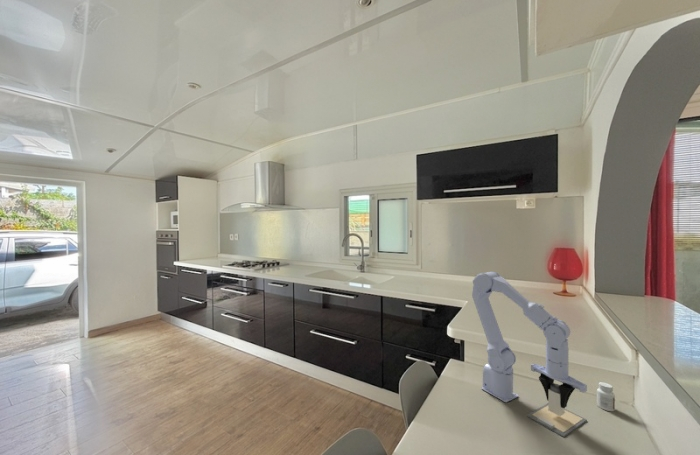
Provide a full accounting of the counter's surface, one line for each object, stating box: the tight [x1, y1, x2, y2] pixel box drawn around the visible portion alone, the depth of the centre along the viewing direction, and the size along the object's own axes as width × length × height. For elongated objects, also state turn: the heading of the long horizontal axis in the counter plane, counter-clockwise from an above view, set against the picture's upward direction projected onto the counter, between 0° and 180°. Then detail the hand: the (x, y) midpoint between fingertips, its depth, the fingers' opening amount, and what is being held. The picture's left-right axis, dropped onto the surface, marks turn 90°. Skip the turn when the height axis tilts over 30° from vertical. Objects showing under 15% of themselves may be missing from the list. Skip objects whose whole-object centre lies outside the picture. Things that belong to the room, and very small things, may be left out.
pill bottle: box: [596, 381, 616, 412], centre depth 91 cm, size 4×4×8 cm
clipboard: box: [526, 403, 588, 438], centre depth 85 cm, size 10×15×1 cm, turn 119°
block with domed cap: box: [547, 383, 566, 416], centre depth 85 cm, size 3×3×8 cm
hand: (556, 403), depth 85 cm, fingers closed on block with domed cap, 3 cm apart
